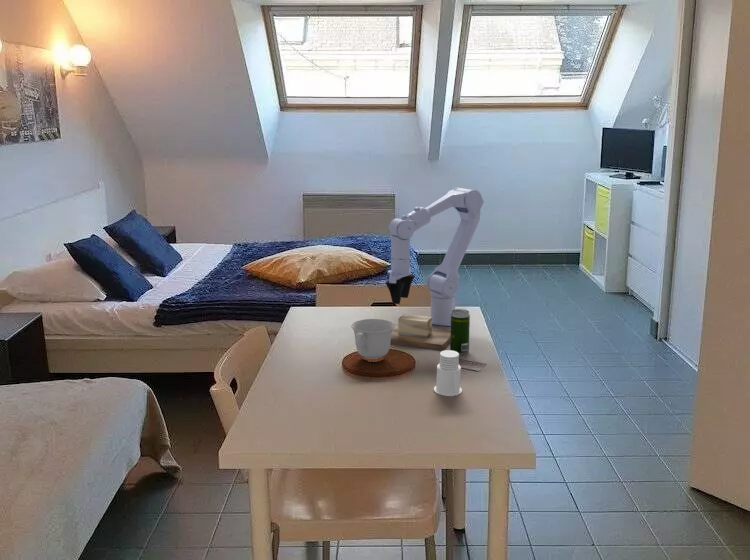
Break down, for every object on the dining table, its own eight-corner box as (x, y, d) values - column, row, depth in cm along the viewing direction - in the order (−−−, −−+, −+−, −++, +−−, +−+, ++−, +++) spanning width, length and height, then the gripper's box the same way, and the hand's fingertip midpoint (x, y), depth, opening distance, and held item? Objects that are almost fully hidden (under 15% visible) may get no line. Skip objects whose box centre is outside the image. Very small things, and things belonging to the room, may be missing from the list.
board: (394, 328, 230) (394, 324, 229) (455, 335, 223) (455, 330, 222) (378, 341, 217) (378, 337, 217) (442, 349, 210) (442, 344, 210)
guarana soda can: (472, 352, 208) (473, 311, 205) (459, 356, 205) (460, 315, 202) (459, 347, 212) (460, 307, 209) (446, 351, 209) (446, 311, 206)
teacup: (338, 366, 198) (337, 330, 195) (364, 349, 210) (364, 316, 208) (377, 373, 192) (377, 337, 190) (401, 356, 205) (402, 322, 203)
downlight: (427, 387, 183) (429, 350, 180) (451, 382, 185) (453, 346, 183) (443, 400, 176) (445, 361, 173) (468, 395, 178) (470, 357, 176)
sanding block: (403, 329, 224) (403, 314, 223) (431, 332, 220) (431, 317, 219) (398, 334, 219) (398, 318, 218) (426, 337, 216) (426, 321, 215)
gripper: (396, 252, 232) (396, 293, 235) (379, 261, 218) (380, 305, 222) (417, 254, 229) (417, 295, 232) (401, 263, 216) (401, 307, 219)
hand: (400, 300), depth 227 cm, fingers open, 7 cm apart
